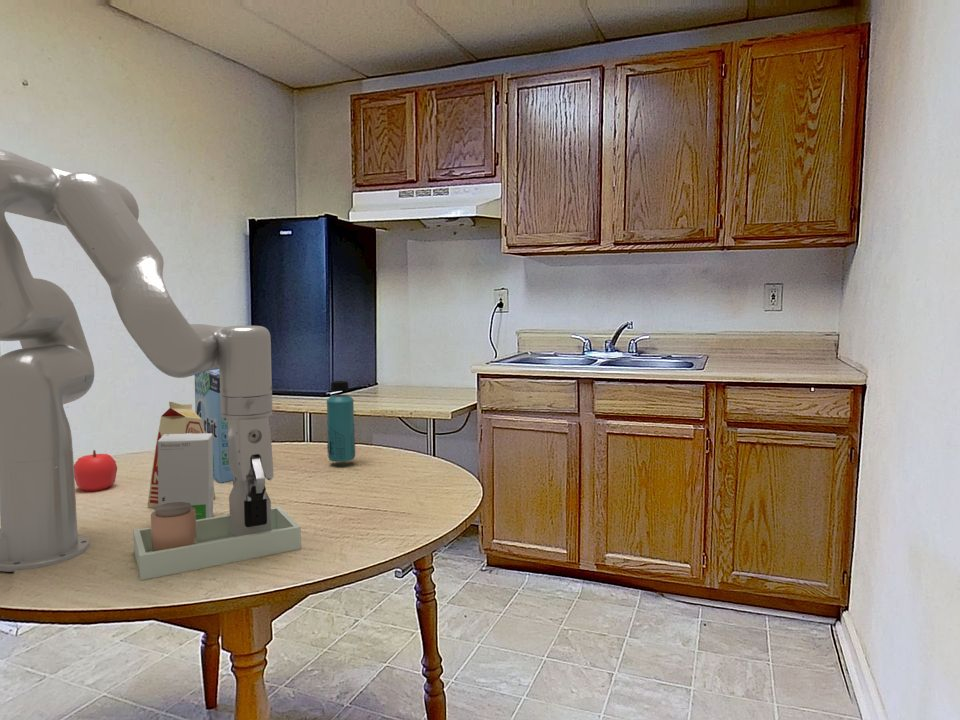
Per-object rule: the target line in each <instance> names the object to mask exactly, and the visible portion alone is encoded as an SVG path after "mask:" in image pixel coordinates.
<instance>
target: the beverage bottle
mask: <svg viewBox="0 0 960 720" xmlns="http://www.w3.org/2000/svg"><path fill="white" fill-rule="evenodd" d="M349 390H350V387H349V382H348V380H334V381H331V382H330V391H331V392H346V391H349ZM354 406H355V405H354V398H353V397H352V396H351V395H349V394H333V395H330V396H329V397H328V399H327V400H326V413H327V416H326V418H327V420H326V424H327V440H326V442H327V443H326V445H327V447H326V448H327V457H328V460H329V461H331V462H335V463H336V462H337V463H338V462H350V461H353V460H355V458H356V457H355V456H356V434H355V433H356V432H355V415H354V413H355V411H354Z"/></svg>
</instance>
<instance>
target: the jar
mask: <svg viewBox="0 0 960 720" xmlns="http://www.w3.org/2000/svg"><path fill="white" fill-rule="evenodd" d="M150 527H151V534H152V552H155V551H160V550H166V549H171V548H177V547H182V546H188V545H194V544H197V534H196V510H195V508H194V507H191V504H190V503H187V502H172V503H166V504H163V505H160V506H157V507H156V508H154V511H152V512H151V513H150Z"/></svg>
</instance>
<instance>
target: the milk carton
mask: <svg viewBox="0 0 960 720" xmlns="http://www.w3.org/2000/svg"><path fill="white" fill-rule="evenodd" d="M168 402H169V403H168V404H169V409H167V410H166V411H165V412H164V413H163V414H162V415H161V416H160V421H159V427H158V433H157V438H156V443H155V449H154V455H153V456H154V457H153V463H152V470H151V476H150V484H149V490H148V491H149V492H148V501H147V508H150V509H155V508H156V507H157V506H158V440H159V439H160V438H161V437H162V436H163V435H164V434H187V433H192V434H201V433H205V430H204V426H203V421H202V419H201V418H200V417H199V416H198V415H197V414H196V413H195V410H193V404H189V403H187V404H181V403H177V402H174V401H168ZM214 499H216V494H215V485H214V481H213V500H214Z"/></svg>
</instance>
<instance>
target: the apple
mask: <svg viewBox="0 0 960 720" xmlns="http://www.w3.org/2000/svg"><path fill="white" fill-rule="evenodd" d="M117 472H118V465H117V462H116V460H115V459H114V458H113V457H112V455H110V454H108V453H96V450H95V449H93V452H92V454H88V455H83V456H81V457H79V458H78V459H77V460H76V462H74V478H75V486H76V487H78V488H79V489H82V490H83V491H85V490H86V491H85V492H97V491H98V490H99V491H102V489H103V490H106V489H107V487H108V488H110V487H111V486H112V485H114V483H115V482H116V477H117ZM105 488H106V489H105Z"/></svg>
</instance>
